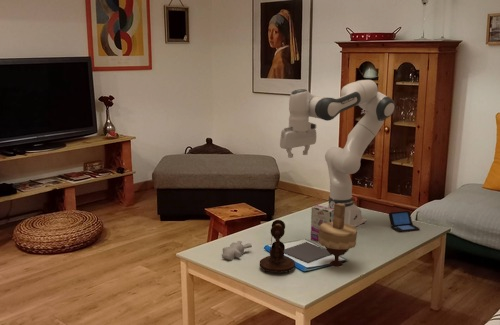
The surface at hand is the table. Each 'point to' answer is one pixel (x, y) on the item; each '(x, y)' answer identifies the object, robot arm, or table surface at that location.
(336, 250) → the ice cream bowl
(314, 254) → the mat
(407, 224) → the handheld game console
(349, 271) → the table surface
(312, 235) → the candy bar box
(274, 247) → the turned wooden statuette
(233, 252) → the bunny figurine
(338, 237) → the oak lid
